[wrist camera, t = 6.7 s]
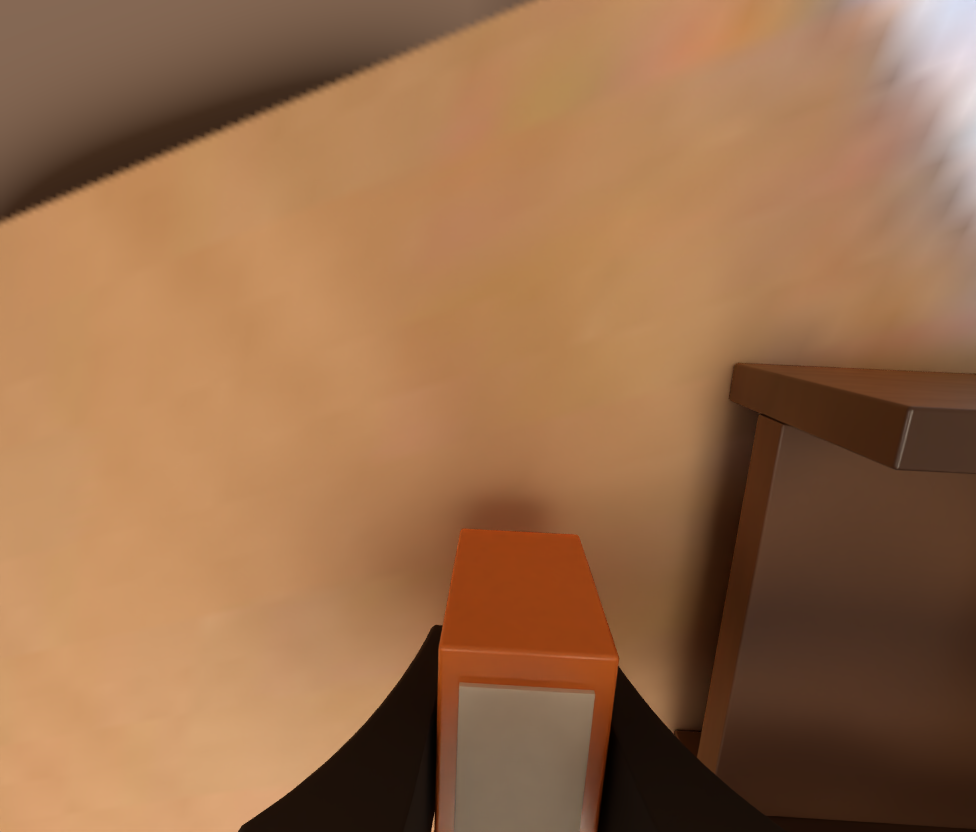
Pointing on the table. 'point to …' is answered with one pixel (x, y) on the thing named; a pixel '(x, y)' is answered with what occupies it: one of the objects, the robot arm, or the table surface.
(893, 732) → the shelf
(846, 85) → the table surface
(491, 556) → the packet
